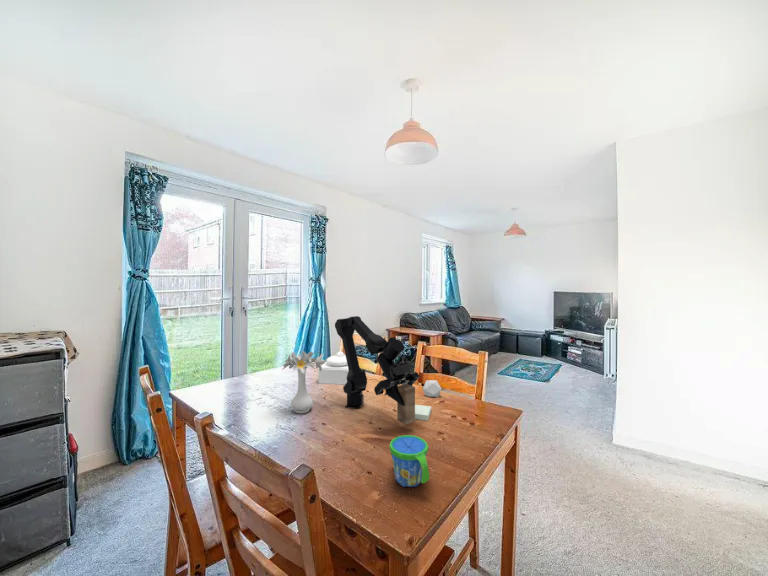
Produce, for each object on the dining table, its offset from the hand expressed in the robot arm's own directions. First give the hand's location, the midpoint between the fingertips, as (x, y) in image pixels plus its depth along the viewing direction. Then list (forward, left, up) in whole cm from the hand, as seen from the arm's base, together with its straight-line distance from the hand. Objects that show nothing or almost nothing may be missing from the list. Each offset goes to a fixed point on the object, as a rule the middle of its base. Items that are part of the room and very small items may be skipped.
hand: (408, 403), depth 113 cm
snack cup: (+5, -25, -11) cm, 28 cm away
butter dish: (-50, +52, -12) cm, 73 cm away
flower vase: (-48, +10, -11) cm, 50 cm away
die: (+4, +38, -11) cm, 40 cm away
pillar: (-1, +1, -7) cm, 7 cm away
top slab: (+1, +15, -10) cm, 18 cm away
